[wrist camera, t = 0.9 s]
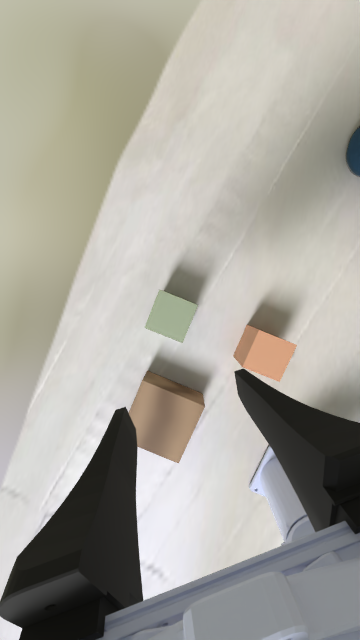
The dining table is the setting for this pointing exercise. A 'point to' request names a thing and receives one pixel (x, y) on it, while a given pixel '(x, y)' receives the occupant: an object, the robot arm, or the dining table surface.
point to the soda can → (354, 153)
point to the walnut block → (165, 416)
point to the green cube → (171, 316)
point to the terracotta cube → (264, 353)
